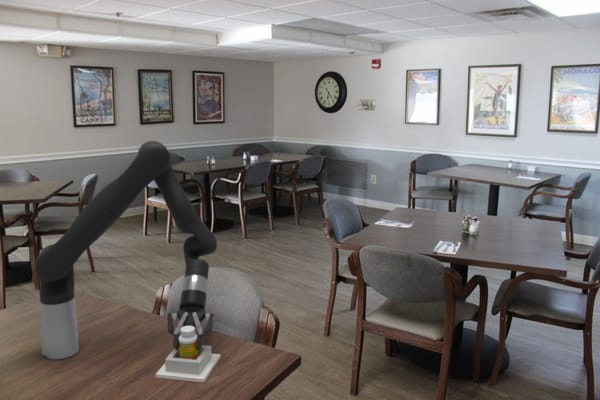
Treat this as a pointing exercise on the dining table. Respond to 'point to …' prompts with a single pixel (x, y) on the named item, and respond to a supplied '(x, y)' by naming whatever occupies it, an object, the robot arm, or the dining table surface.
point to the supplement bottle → (188, 343)
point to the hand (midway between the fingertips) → (187, 349)
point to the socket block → (189, 366)
